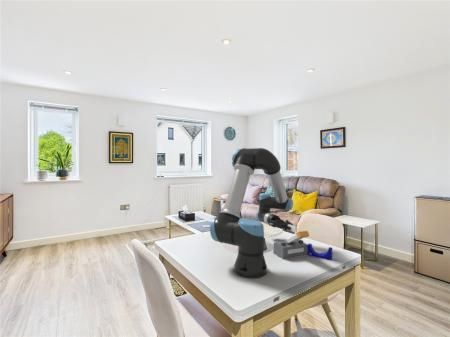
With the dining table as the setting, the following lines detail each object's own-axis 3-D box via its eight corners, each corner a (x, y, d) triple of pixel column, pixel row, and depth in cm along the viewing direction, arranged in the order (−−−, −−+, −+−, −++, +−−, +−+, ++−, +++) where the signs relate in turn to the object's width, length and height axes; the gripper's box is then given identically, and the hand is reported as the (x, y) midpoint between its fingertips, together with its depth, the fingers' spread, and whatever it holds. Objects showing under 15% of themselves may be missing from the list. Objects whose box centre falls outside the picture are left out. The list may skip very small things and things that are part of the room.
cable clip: (332, 257, 129) (332, 246, 129) (331, 260, 125) (331, 249, 125) (309, 253, 135) (309, 242, 135) (307, 255, 132) (307, 244, 132)
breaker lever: (286, 244, 132) (300, 236, 121) (284, 240, 133) (298, 231, 122) (294, 243, 134) (309, 235, 123) (293, 239, 135) (307, 230, 124)
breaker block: (283, 259, 126) (283, 245, 125) (273, 253, 134) (273, 239, 134) (308, 255, 131) (308, 241, 131) (296, 249, 140) (297, 236, 140)
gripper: (280, 225, 154) (305, 235, 132) (263, 226, 150) (285, 238, 128) (281, 213, 154) (305, 222, 132) (263, 214, 149) (285, 223, 127)
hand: (295, 229), depth 130 cm, fingers closed
